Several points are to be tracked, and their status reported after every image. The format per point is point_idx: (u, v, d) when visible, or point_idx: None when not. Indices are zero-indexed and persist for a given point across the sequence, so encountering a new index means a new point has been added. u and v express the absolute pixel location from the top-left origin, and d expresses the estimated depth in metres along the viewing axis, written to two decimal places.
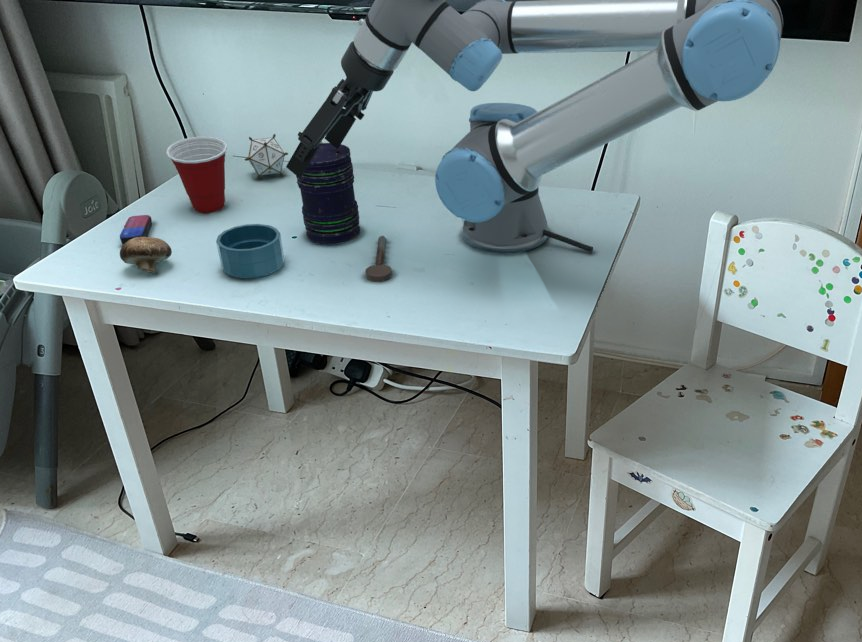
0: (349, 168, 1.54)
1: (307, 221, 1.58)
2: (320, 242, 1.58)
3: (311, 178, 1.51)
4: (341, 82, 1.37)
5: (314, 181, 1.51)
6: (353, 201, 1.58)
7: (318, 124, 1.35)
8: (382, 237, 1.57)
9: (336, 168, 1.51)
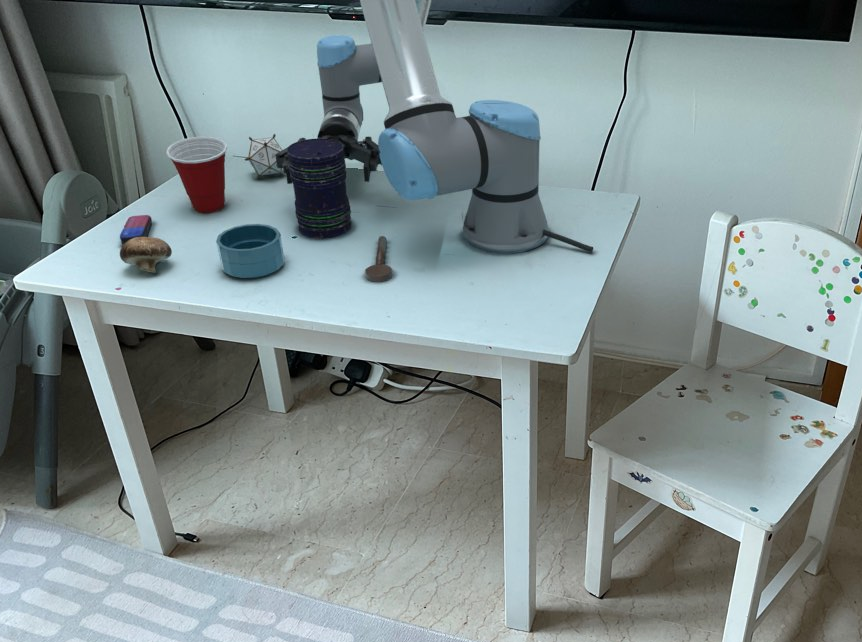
0: (319, 172, 1.53)
1: None
2: (298, 227, 1.63)
3: (288, 165, 1.56)
4: None
5: (289, 169, 1.56)
6: (324, 205, 1.57)
7: None
8: (382, 237, 1.57)
9: (299, 165, 1.53)
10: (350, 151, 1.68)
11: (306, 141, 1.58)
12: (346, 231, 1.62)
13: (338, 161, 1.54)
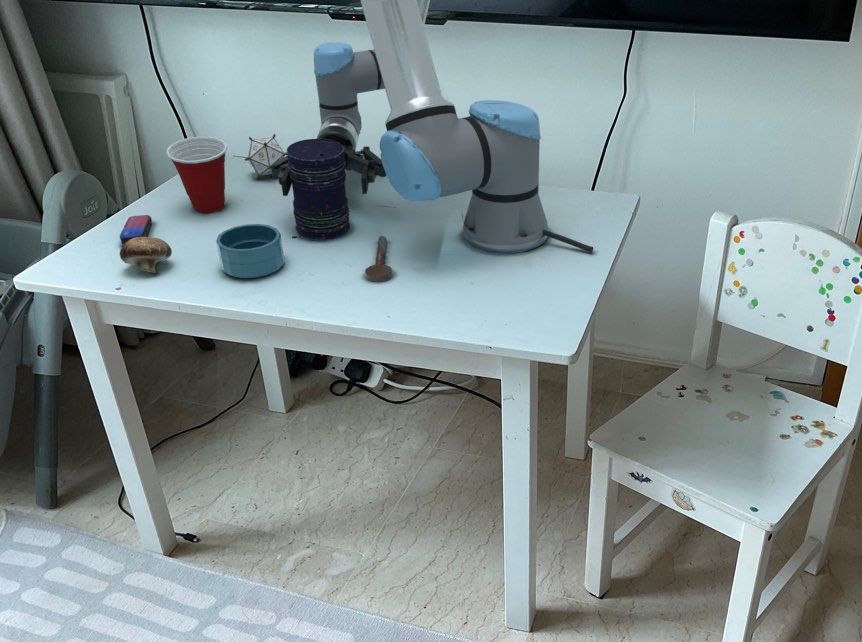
0: (323, 174, 1.52)
1: None
2: (296, 229, 1.62)
3: (288, 167, 1.55)
4: None
5: (289, 171, 1.54)
6: (327, 206, 1.56)
7: None
8: (382, 237, 1.57)
9: (303, 167, 1.51)
10: (348, 161, 1.64)
11: (303, 141, 1.57)
12: (346, 231, 1.62)
13: (340, 162, 1.54)
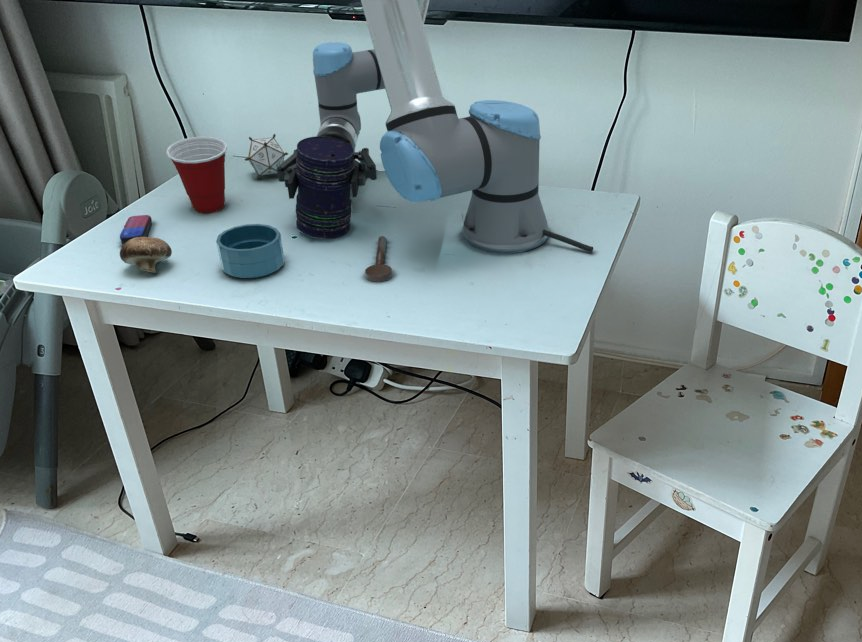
0: (333, 174, 1.52)
1: None
2: (296, 224, 1.61)
3: (296, 163, 1.54)
4: None
5: (297, 167, 1.54)
6: (332, 206, 1.56)
7: None
8: (382, 237, 1.57)
9: (313, 166, 1.51)
10: None
11: (312, 138, 1.56)
12: (347, 231, 1.62)
13: (350, 164, 1.54)
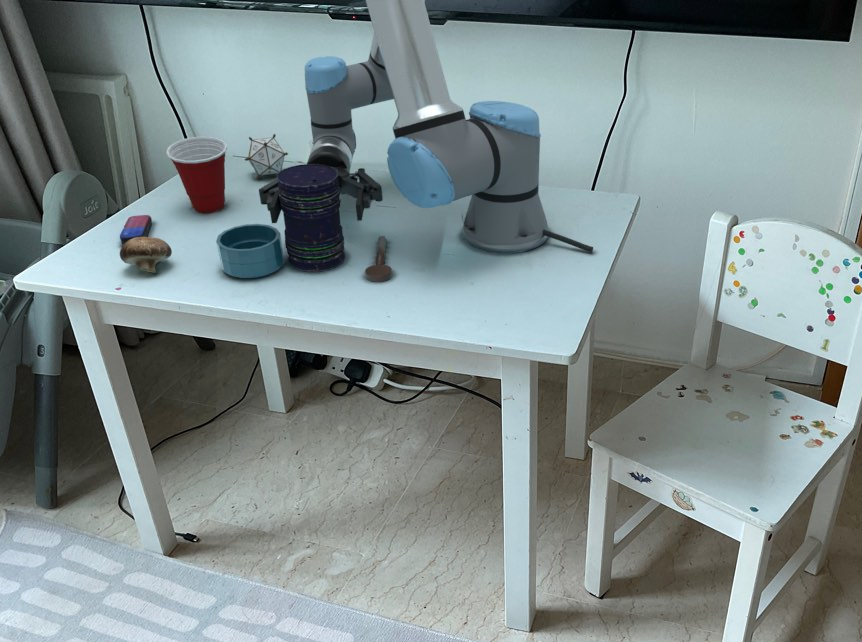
0: (316, 200, 1.43)
1: None
2: (288, 260, 1.52)
3: (279, 194, 1.45)
4: None
5: (280, 198, 1.45)
6: (320, 235, 1.47)
7: None
8: (382, 237, 1.57)
9: (294, 194, 1.42)
10: (341, 185, 1.53)
11: (294, 167, 1.48)
12: (341, 261, 1.52)
13: (334, 188, 1.45)
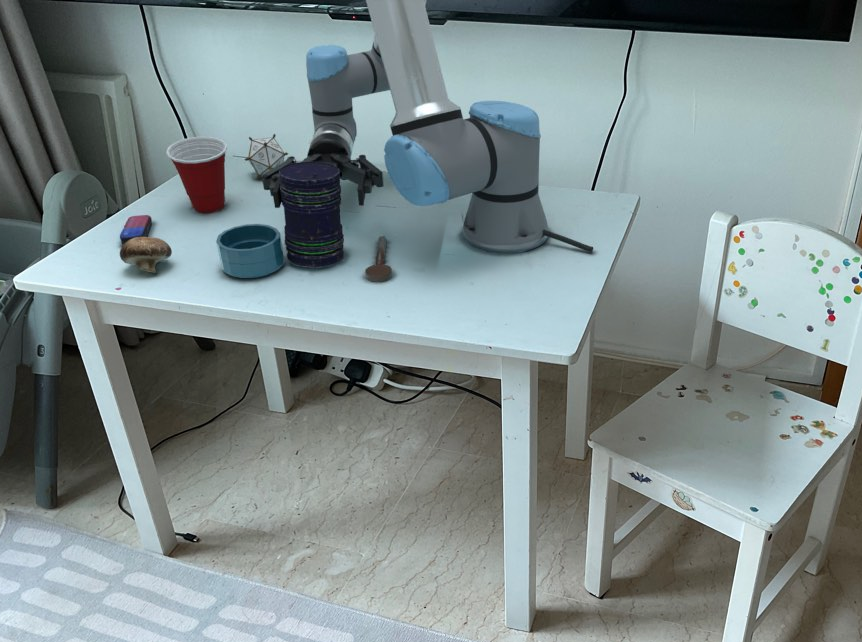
0: (315, 195, 1.44)
1: None
2: None
3: (280, 188, 1.46)
4: None
5: (280, 192, 1.46)
6: (318, 231, 1.47)
7: None
8: (382, 237, 1.57)
9: (294, 188, 1.43)
10: (343, 171, 1.55)
11: (298, 164, 1.49)
12: (339, 260, 1.52)
13: (334, 185, 1.45)
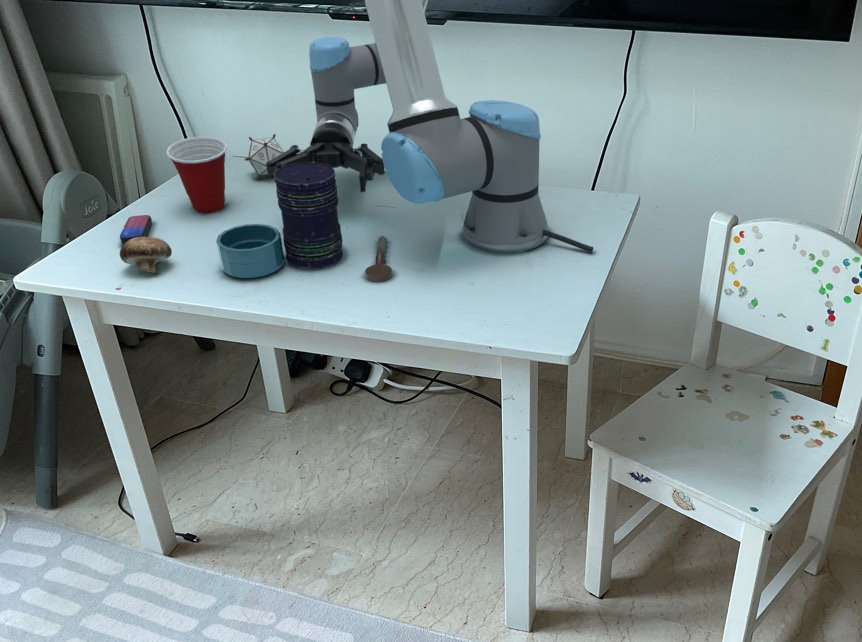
0: (308, 199, 1.44)
1: None
2: (286, 255, 1.54)
3: (276, 190, 1.47)
4: None
5: None
6: (312, 233, 1.47)
7: None
8: (382, 237, 1.57)
9: (286, 191, 1.43)
10: (345, 159, 1.59)
11: (297, 165, 1.49)
12: (336, 261, 1.52)
13: (328, 188, 1.45)
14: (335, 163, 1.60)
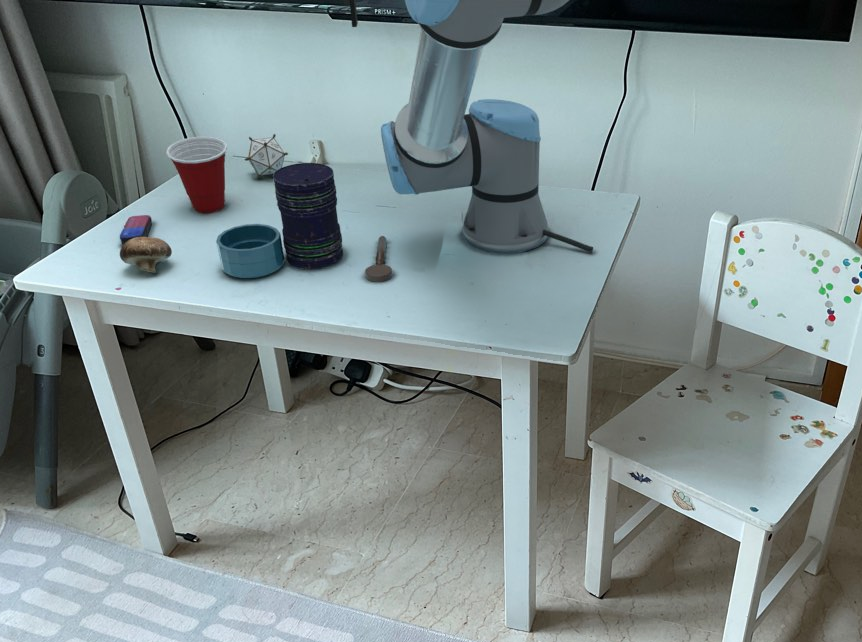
0: (306, 200, 1.44)
1: None
2: (286, 256, 1.54)
3: (275, 191, 1.47)
4: None
5: None
6: (312, 234, 1.47)
7: None
8: (382, 237, 1.57)
9: (285, 192, 1.43)
10: None
11: (295, 165, 1.49)
12: (336, 262, 1.52)
13: (327, 188, 1.44)
14: None
